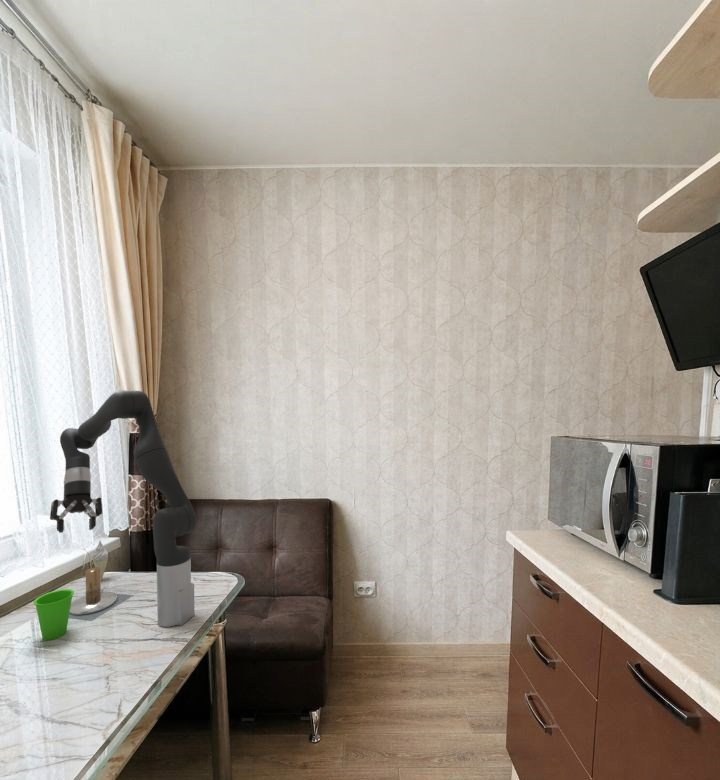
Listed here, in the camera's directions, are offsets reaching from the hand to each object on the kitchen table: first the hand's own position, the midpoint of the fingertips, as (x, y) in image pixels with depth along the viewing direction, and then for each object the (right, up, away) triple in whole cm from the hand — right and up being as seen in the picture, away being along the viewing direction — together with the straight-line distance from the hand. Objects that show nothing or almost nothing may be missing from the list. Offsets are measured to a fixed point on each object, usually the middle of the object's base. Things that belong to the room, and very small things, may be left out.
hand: (76, 530), depth 132 cm
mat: (+8, -23, -3) cm, 25 cm away
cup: (+8, -23, -20) cm, 31 cm away
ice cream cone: (-2, -24, +16) cm, 29 cm away
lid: (+8, -23, -3) cm, 24 cm away
